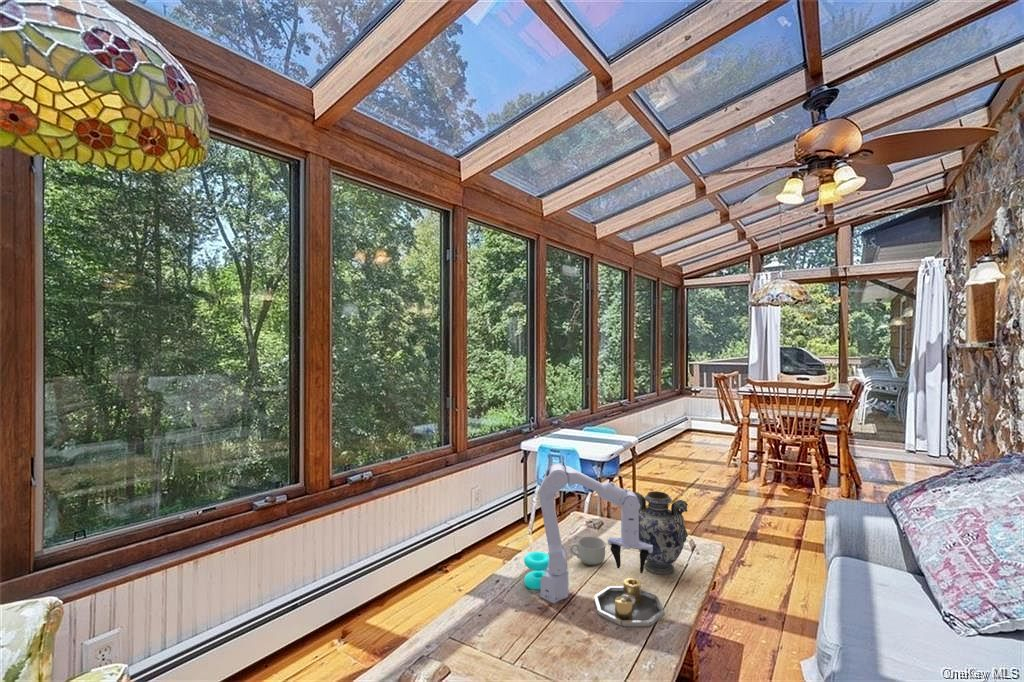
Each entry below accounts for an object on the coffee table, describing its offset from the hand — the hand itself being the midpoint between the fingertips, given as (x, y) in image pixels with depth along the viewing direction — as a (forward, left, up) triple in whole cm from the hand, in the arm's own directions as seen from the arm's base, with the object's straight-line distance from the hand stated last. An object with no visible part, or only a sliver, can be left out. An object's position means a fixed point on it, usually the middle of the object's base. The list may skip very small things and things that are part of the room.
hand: (630, 569), depth 157 cm
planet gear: (0, -1, -9) cm, 9 cm away
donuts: (-15, +28, -10) cm, 33 cm away
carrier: (-6, -3, -10) cm, 12 cm away
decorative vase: (+26, +4, -10) cm, 28 cm away
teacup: (+11, +26, -10) cm, 30 cm away
